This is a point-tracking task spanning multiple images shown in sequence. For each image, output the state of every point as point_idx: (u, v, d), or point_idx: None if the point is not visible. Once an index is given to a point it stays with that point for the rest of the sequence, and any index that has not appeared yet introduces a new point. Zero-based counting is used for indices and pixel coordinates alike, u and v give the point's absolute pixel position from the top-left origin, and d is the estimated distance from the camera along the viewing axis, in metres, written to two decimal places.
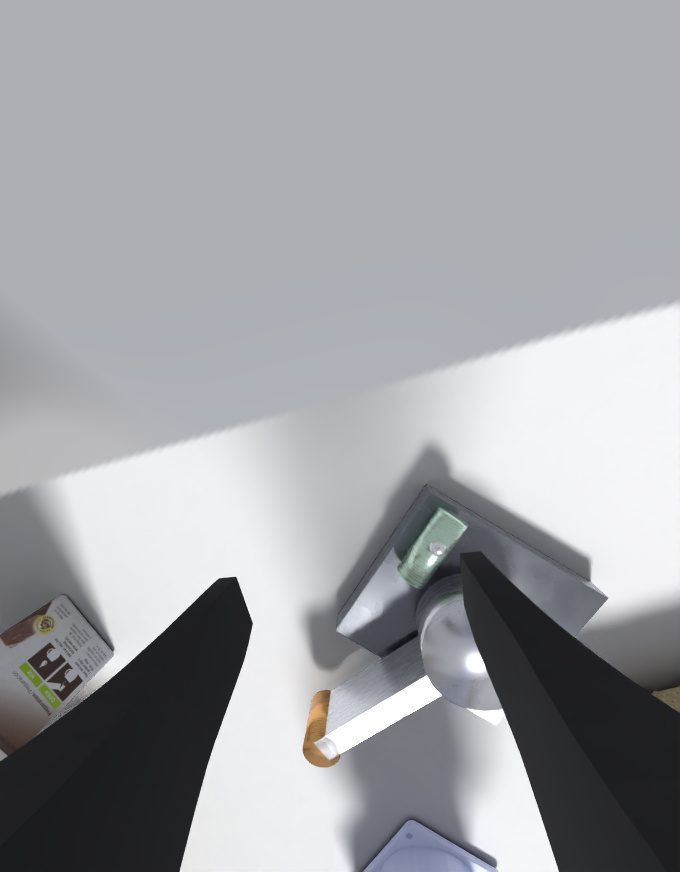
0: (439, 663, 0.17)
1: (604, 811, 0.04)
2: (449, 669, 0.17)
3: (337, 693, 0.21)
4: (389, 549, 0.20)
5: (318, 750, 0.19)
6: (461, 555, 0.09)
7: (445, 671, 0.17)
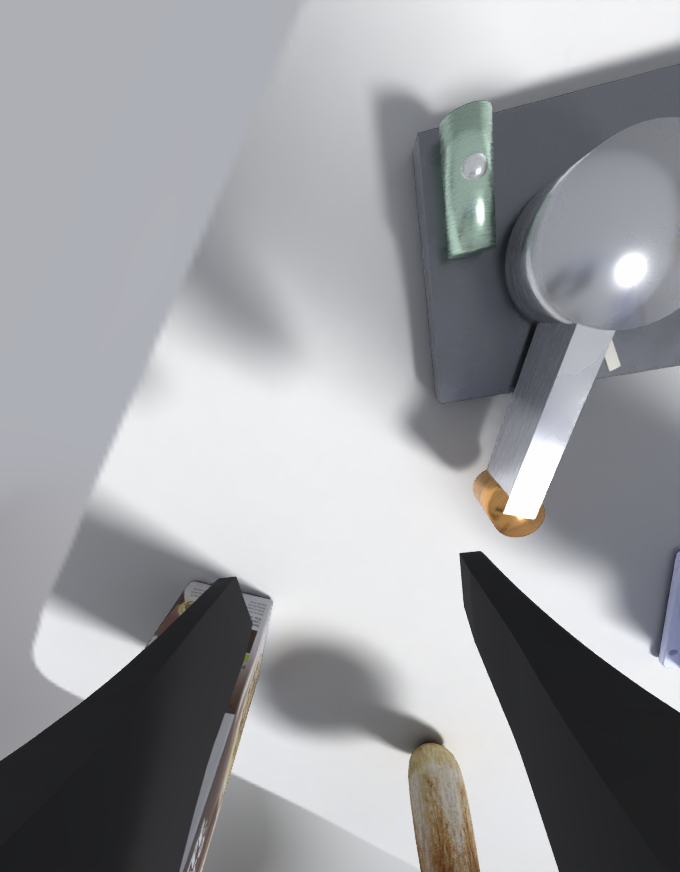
0: (581, 290, 0.11)
1: (603, 810, 0.04)
2: (600, 286, 0.11)
3: (494, 462, 0.16)
4: (427, 259, 0.14)
5: (514, 517, 0.14)
6: (461, 555, 0.09)
7: (596, 294, 0.11)
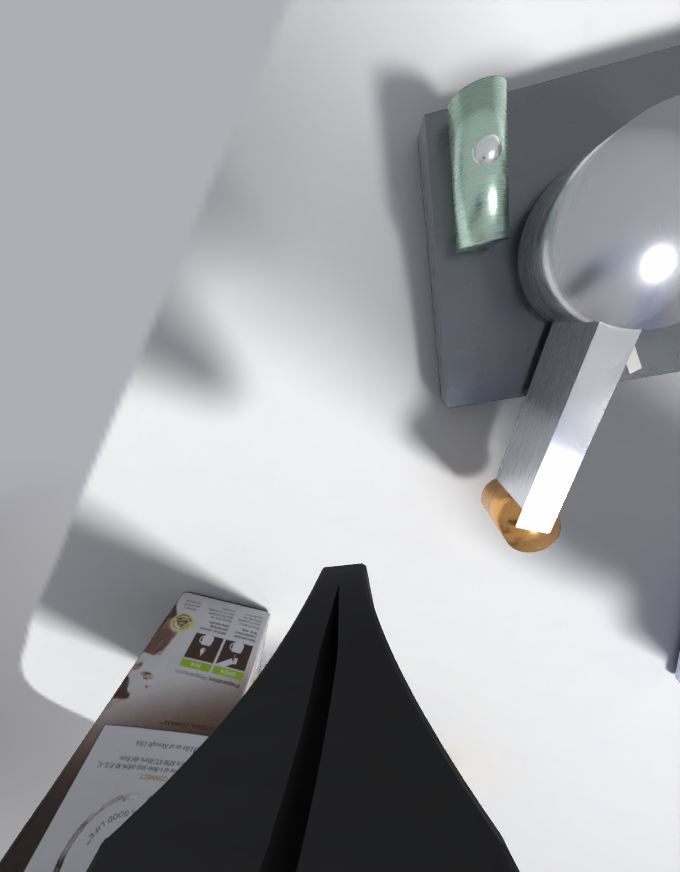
0: (605, 285, 0.10)
1: None
2: (626, 281, 0.10)
3: (504, 470, 0.15)
4: (434, 253, 0.13)
5: (527, 531, 0.13)
6: (342, 568, 0.10)
7: (622, 289, 0.10)
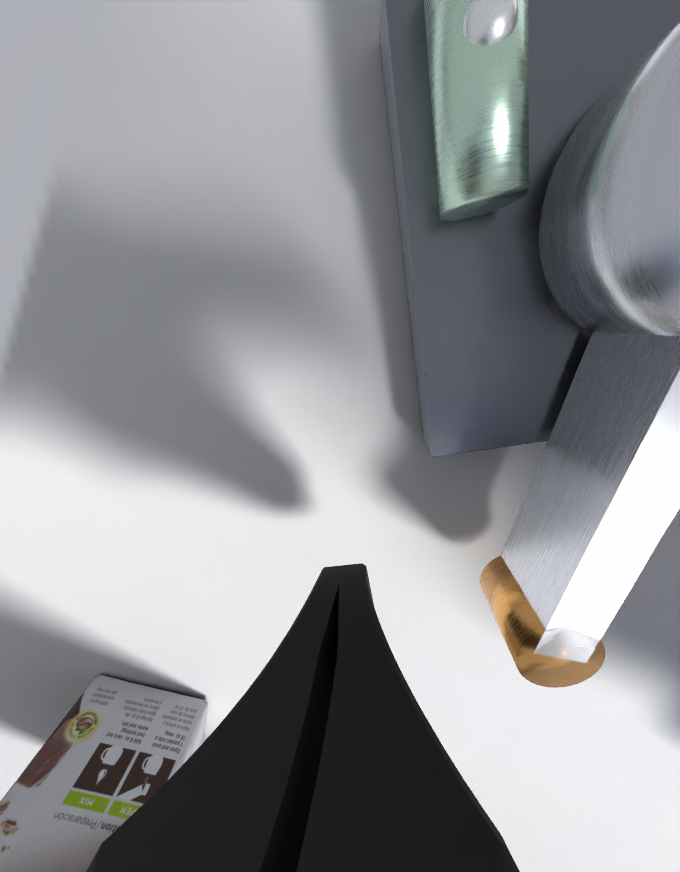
0: None
1: None
2: None
3: (514, 549, 0.10)
4: (406, 223, 0.08)
5: (552, 659, 0.09)
6: (342, 568, 0.10)
7: None
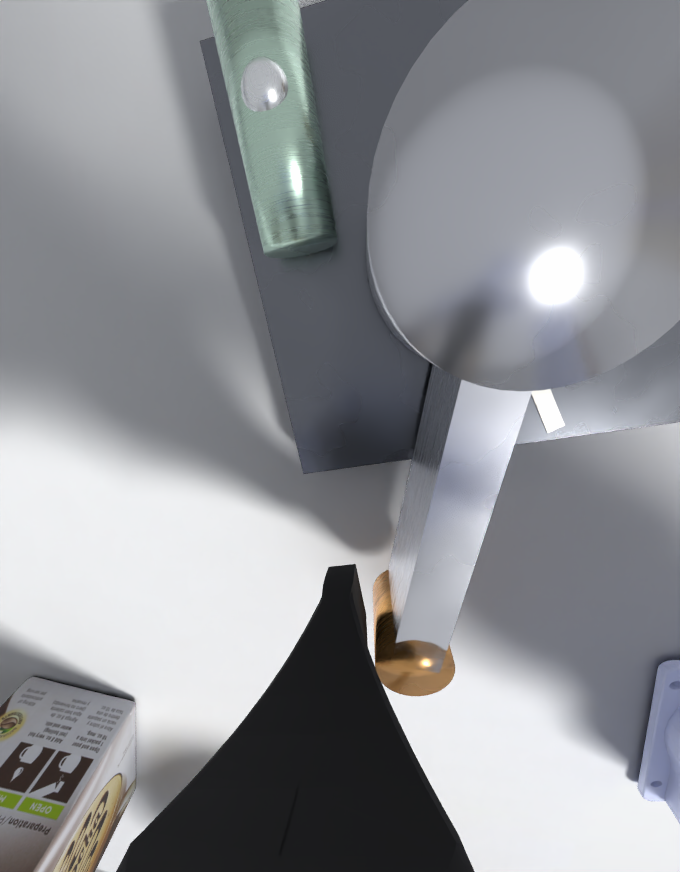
0: (456, 321, 0.06)
1: None
2: (491, 313, 0.06)
3: (392, 564, 0.11)
4: None
5: (408, 670, 0.09)
6: (328, 569, 0.10)
7: (486, 327, 0.06)
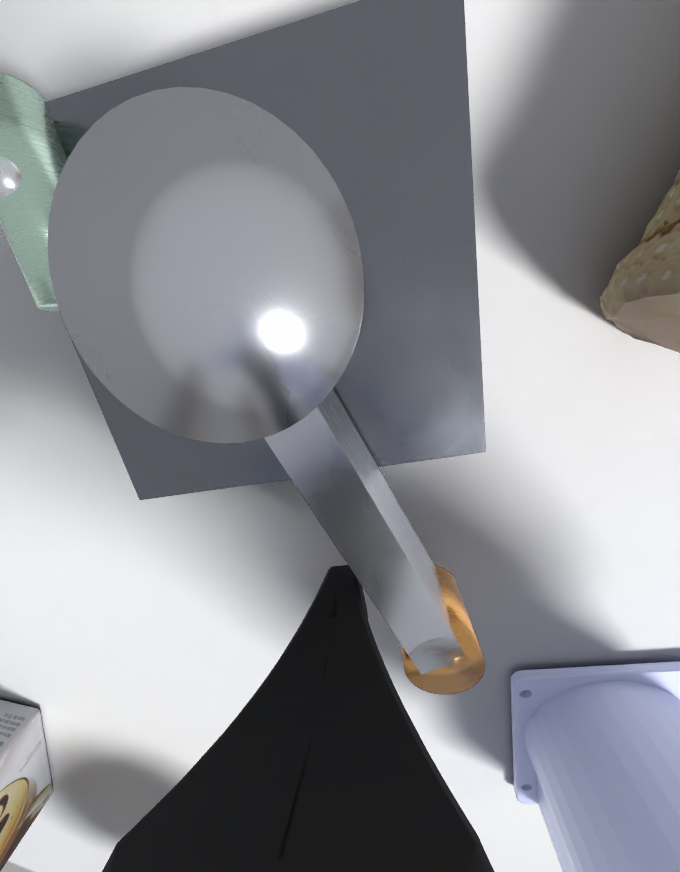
0: (216, 406, 0.07)
1: None
2: (232, 385, 0.07)
3: None
4: None
5: (440, 670, 0.09)
6: (334, 569, 0.10)
7: (238, 395, 0.07)
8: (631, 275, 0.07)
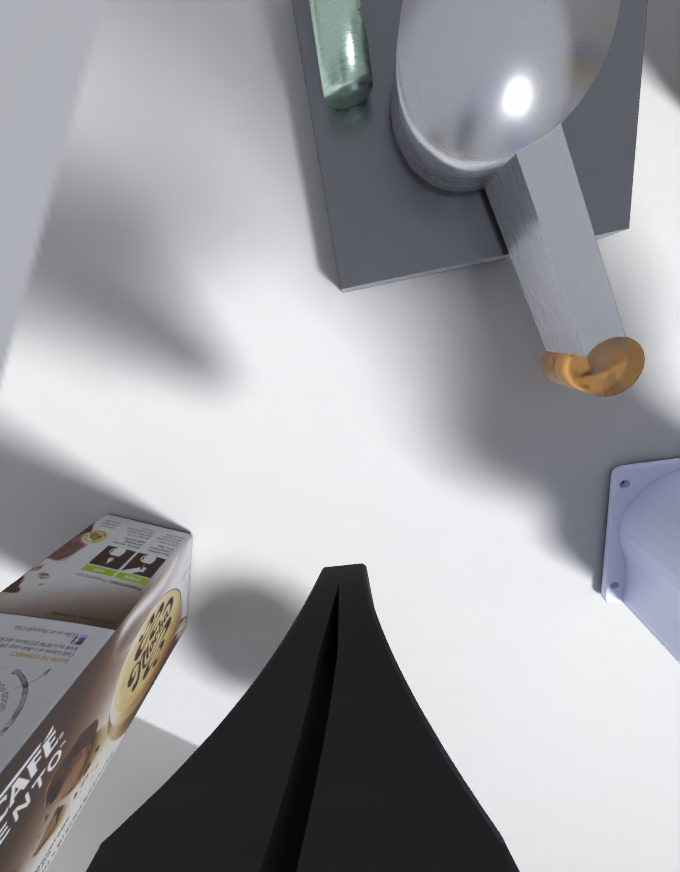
0: (493, 122, 0.10)
1: None
2: (509, 102, 0.10)
3: (546, 338, 0.14)
4: None
5: (608, 371, 0.12)
6: (342, 568, 0.10)
7: (511, 111, 0.10)
8: None
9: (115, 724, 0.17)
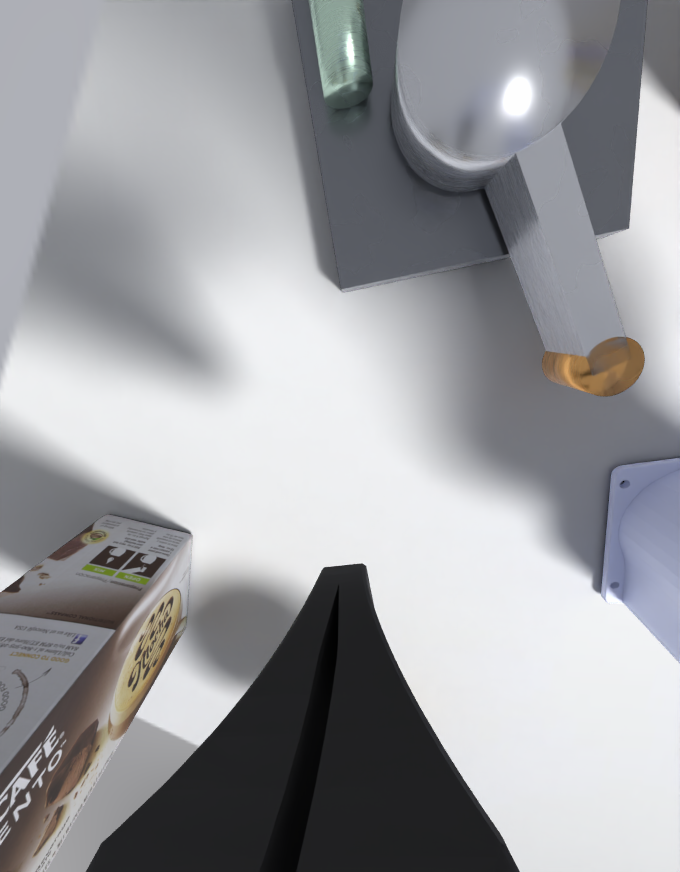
0: (493, 122, 0.10)
1: None
2: (509, 102, 0.10)
3: (546, 338, 0.14)
4: None
5: (608, 371, 0.12)
6: (342, 567, 0.10)
7: (511, 111, 0.10)
8: None
9: (115, 724, 0.17)
